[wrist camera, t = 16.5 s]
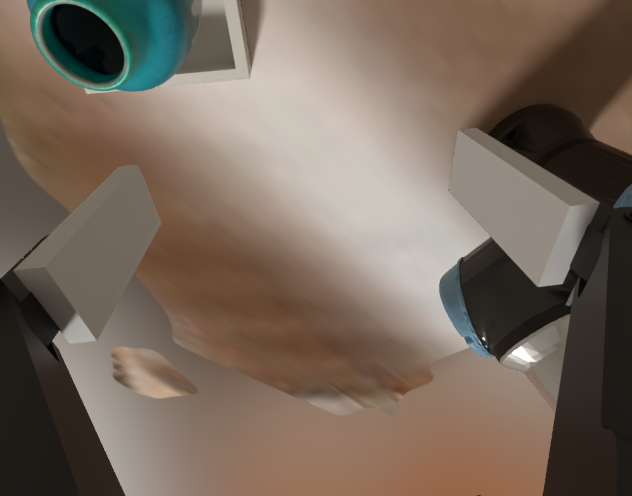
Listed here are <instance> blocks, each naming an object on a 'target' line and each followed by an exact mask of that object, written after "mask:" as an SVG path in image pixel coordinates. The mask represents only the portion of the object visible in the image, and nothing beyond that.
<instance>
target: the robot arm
mask: <svg viewBox="0 0 632 496" xmlns="http://www.w3.org/2000/svg"><path fill="white" fill-rule="evenodd" d="M448 191H449V192H450V193H451V194H452V195H453V196H454V197H455V198H456V199H457V201H458V202H459V203H460V204H461V205H462V206H463V207H464V208H465V209H466V210H467V211H468V212H469V213H470V215H471V216H472V217H473V218H474V219H475V220H476V221H477V222H478V223H479V224H480V225H481V226H482V228H483V229H484V230H485V231H486V232H487V233H488V234H489V235H490V236H491V237H490V238H489V239H487V240H486V241H485V242H484V243H482V244H481V245H480V246H478V247H477V248H476V249H474V250H473V251H472V252H470V253H469V254H468V255H466V256H465V257H462V258H460V259H459V261H458V262H457V264H456V265H455V266H453V267H452V268H451V269H450V270H449V271H448V272H446V273H445V274H444V275H443V276H442V278H441V280H440V284H439V292H440V297H441V300H442V303H443V306H444V308H445V310H446V312H447V314H448V316H449V318H450V320H451V322H452V323H453V325H454V327H455V328H456V330H457V331H458V333H459V334H460V335H461V336H462V337H464V339H465V340H466V342H467V344H468V345H469V346H470V347H471V348H472V349H473V351H475V352H476V353H477V354H478V355H480V356H483V357H494V356H495V357H496V358H497V360H498V361H499V363H500V364H501V365H502V366H503V367H506V368H509V369H513V370H516V371H520V372H522V373H524V374H525V375H526V376H527V378H528V379H529V380H530V381H531V383H532V384H533V386H534V387H535V388H536V389H537V391H538V392H539V393H540V395H541V396H542V397H543V399H544V400H545V401H546V403H547V404H548V405H549V407H550V408H551V409H552V411H553V412H554V413H555V419H554V426H553V432H552V439H551V446H550V452H549V459H548V466H547V472H546V479H545V485H544V492H543V496H632V155H631V154H628V153H626V152H624V151H621V150H619V149H617V148H614V147H612V146H610V145H607V144H605V143H602V142H600V141H598V140H596V139H595V138H594V137H593V135H592V134H591V133H590V132H589V130H588V129H587V128H586V127H585V126H584V125H583V124H582V122H581V120H580V119H579V118H578V117H577V116H576V115H575V114H573V113H572V112H570V111H568V110H565V109H563V108H560V107H557V106H554V105H548V104H541V105H534V106H530V107H527V108H524V109H522V110H519V111H517V112H515V113H514V114H512V115H510V116H509V117H507V118H506V119H505V120H503V121H502V122H501V123H500V124H498V125H497V126H496V127H495V128H494V129H493V130H492V131H491V133H490V134H489V135H487V134H486V133H484V132H482V131H481V130H479V129H477V128H469V129H460V130H458V133H457V139H456V145H455V151H454V157H453V164H452V170H451V176H450V182H449V188H448ZM160 225H161V220H160V218H159V215H158V213H157V210H156V208H155V206H154V203H153V201H152V198H151V196H150V193H149V191H148V188H147V186H146V183H145V181H144V178H143V176H142V173H141V171H140V169H139V166H138V165H130V166H121V167H118V168H117V169H116V170H115V171H114V172H113V173H112V174H111V175H110V176H109V177H108V178H107V179H106V180H105V181H104V182H103V183H102V184H101V185H100V186H99V187H98V188H97V189H96V190H95V191H94V192H93V193H92V194H91V195H90V196H88V197H87V198H86V199H85V200H84V201H83V202H82V203H81V204H80V205H79V206H78V207H77V208H76V209H75V210H74V211H73V212H72V213H71V214H70V215H69V216H68V217H67V218H66V219H65V220H64V221H63V222H62V223H61V224H60V225H59V226H58V227H57V228H56V229H55V230H54V231H53V232H52V233H51V234H49V235H47V236H46V237H44V238H42V239H41V240H40V241H39V242H38V243H37V244H36V245H35V246H34V247H33V248H32V250H30V251H29V252H28V253H27V254H26V255H25V256H24V258H23V259H21V260H20V261H19V262H18V263H17V264H15V266H13V267H12V268H11V269H10V270H9V271H8V272H7V273H6V274H5V275H4V276H3V277H2V278H1V279H0V496H125V494H124V492H123V490H122V487H121V485H120V483H119V481H118V479H117V476H116V474H115V472H114V470H113V468H112V465H111V463H110V461H109V459H108V457H107V455H106V452H105V450H104V448H103V446H102V444H101V441H100V439H99V437H98V435H97V432H96V430H95V428H94V426H93V424H92V422H91V419H90V417H89V415H88V413H87V411H86V408H85V406H84V404H83V402H82V400H81V398H80V395H79V393H78V391H77V389H76V386H75V384H74V382H73V380H72V378H71V375H70V373H69V371H68V369H67V367H66V365H65V363H64V360H63V358H62V356H61V354H60V351H59V349H58V348H57V347H56V346H55V344H54V343H53V342H52V340H53V339H54V337H55V336H56V334H57V333H58V331H59V330H60V331H61V333H62V334H63V335H64V337H65V338H66V339H67V340H68V342H69V343H70V344H73V343H80V342H90V341H97V339H98V337H99V336H100V334H101V332H102V330H103V328H104V326H105V325H106V323H107V321H108V319H109V318H110V316H111V314H112V312H113V310H114V308H115V307H116V305H117V303H118V301H119V299H120V298H121V296H122V294H123V292H124V290H125V288H126V287H127V285H128V283H129V281H130V279H131V277H132V276H133V274H134V272H135V270H136V268H137V267H138V265H139V263H140V261H141V259H142V258H143V256H144V254H145V252H146V250H147V249H148V247H149V245H150V243H151V241H152V239H153V238H154V236H155V234H156V232H157V230H158V229H159V227H160ZM479 496H480V495H479Z"/></svg>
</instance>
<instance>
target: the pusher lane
mask: <svg viewBox="0 0 632 496" xmlns="http://www.w3.org/2000/svg"><path fill="white" fill-rule="evenodd" d="M251 70H252V68H251V62H250V56H249V50H248V43H247V37H246V31H245V25H244V19H243V12H242V6H241V0H202V14H201V20H200V25H199V30H198V33H197V36H196V39H195V41H194V44H193V46H192V49H191V51H190V53H189V55H188V57H187V58H186V60H185V61H184V63H183V64H182V66H181V67H180V69H179V70H178V71H177V72H176V73H175V74H174V75H173V76H172V77H171V78H170V79H169V80H167V81H166V82H164V83H163V84H161V85H159V86H157V87H166V86H176V85H187V84H198V83H208V82H219V81H230V80H240V79H250V74H251ZM85 91H86V93H87V94H91V93H102V92H113V91H121V90H116V89H115V90H110V91H95V90H90V89H86V88H85Z"/></svg>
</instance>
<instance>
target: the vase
mask: <svg viewBox="0 0 632 496" xmlns="http://www.w3.org/2000/svg"><path fill="white" fill-rule="evenodd" d="M27 4H28V8H29V10H30V13H31V18H30V25H31V31H32V35H33V38H34V41H35V43H36V46H37V47H38V49H39V51H40V53H41V54H42V56H43V57H44V58H45V60H46V61H47V62H48V63H49V64H50V65H51V67H52V68H54V69H55V70H56V71H57V72H58V73H59V74H60V75H62V76H63V77H64V78H66V79H67V80H69V81H71V82H72V83H74V84H76V85H79V86H81V87H84V88H86V89H90V90H95V91H110V90H115V89H116V90H121V91H144V90H148V89H152V88H155V87H157V86H159V85H161V84H163V83H164V82H166V81H167V80H169V79H170V78H171V77H172V76H173V75H174V74H175V73H176V72H177V71H178V70H179V69H180V67H181V66H182V64H183V63H184V61H185V60H186V58H187V57H188V55H189V53H190V51H191V49H192V46H193V44H194V41H195V39H196V36H197V33H198V30H199V25H200V20H201V14H202V0H27Z"/></svg>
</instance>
